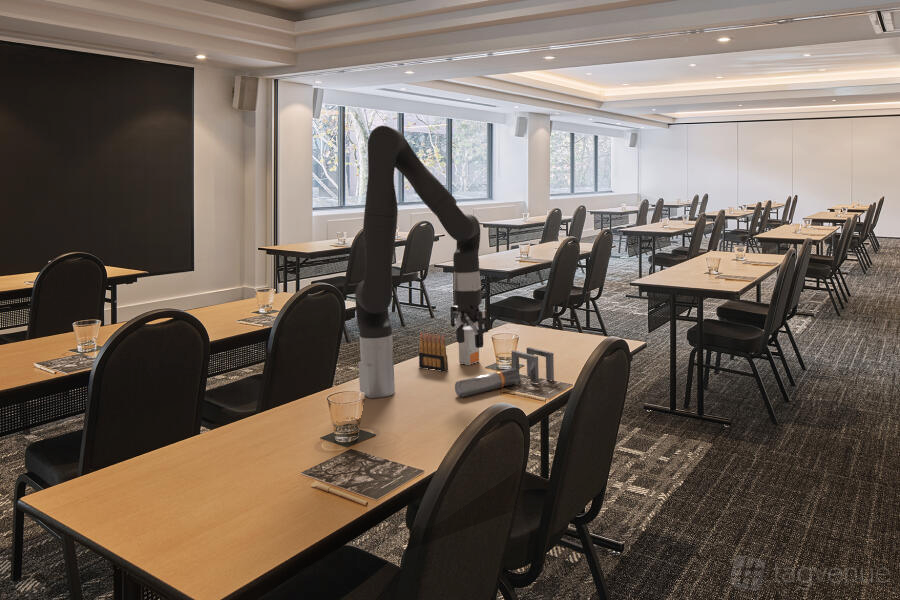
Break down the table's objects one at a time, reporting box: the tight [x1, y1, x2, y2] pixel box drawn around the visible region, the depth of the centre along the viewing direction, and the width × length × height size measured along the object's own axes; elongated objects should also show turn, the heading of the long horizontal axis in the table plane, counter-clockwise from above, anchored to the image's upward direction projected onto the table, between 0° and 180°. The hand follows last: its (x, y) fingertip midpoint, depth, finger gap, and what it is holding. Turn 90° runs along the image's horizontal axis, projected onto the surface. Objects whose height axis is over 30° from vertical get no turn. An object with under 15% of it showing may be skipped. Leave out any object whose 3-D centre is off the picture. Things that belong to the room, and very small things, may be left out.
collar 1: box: [511, 350, 540, 383], centre depth 218 cm, size 1×11×8 cm, turn 35°
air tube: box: [454, 368, 521, 398], centre depth 211 cm, size 20×5×5 cm, turn 125°
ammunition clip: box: [418, 331, 449, 372], centre depth 236 cm, size 11×2×12 cm, turn 52°
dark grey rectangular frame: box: [526, 346, 555, 382], centre depth 222 cm, size 1×11×8 cm, turn 35°
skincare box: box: [458, 325, 480, 366], centre depth 242 cm, size 6×4×12 cm
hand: (469, 344), depth 206 cm, fingers open, 8 cm apart
